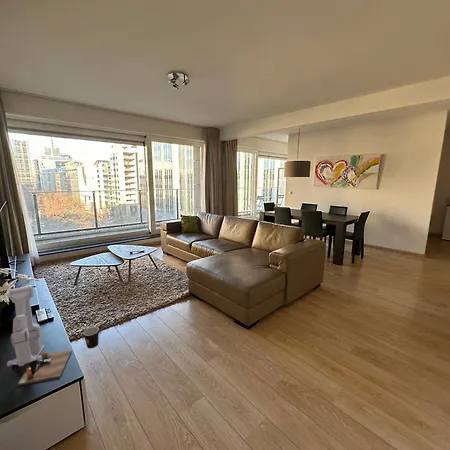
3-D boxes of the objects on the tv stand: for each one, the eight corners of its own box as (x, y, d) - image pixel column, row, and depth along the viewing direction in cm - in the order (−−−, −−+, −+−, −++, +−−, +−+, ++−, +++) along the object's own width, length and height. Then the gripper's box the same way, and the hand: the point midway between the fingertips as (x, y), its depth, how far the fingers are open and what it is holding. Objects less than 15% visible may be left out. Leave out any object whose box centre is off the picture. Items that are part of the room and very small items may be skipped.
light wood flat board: (35, 357, 144) (34, 350, 143) (72, 351, 149) (71, 344, 148) (17, 385, 125) (16, 378, 124) (60, 378, 130) (58, 370, 129)
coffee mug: (102, 345, 155) (100, 331, 153) (87, 351, 149) (85, 337, 147) (96, 336, 163) (94, 323, 161) (81, 342, 157) (80, 328, 155)
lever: (38, 360, 140) (37, 352, 139) (52, 359, 141) (51, 351, 140) (24, 380, 127) (23, 371, 126) (40, 378, 128) (38, 369, 127)
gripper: (1, 360, 120) (6, 383, 122) (36, 354, 124) (40, 377, 126) (9, 350, 126) (14, 372, 129) (42, 345, 130) (45, 367, 133)
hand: (27, 374), depth 128 cm, fingers open, 5 cm apart
